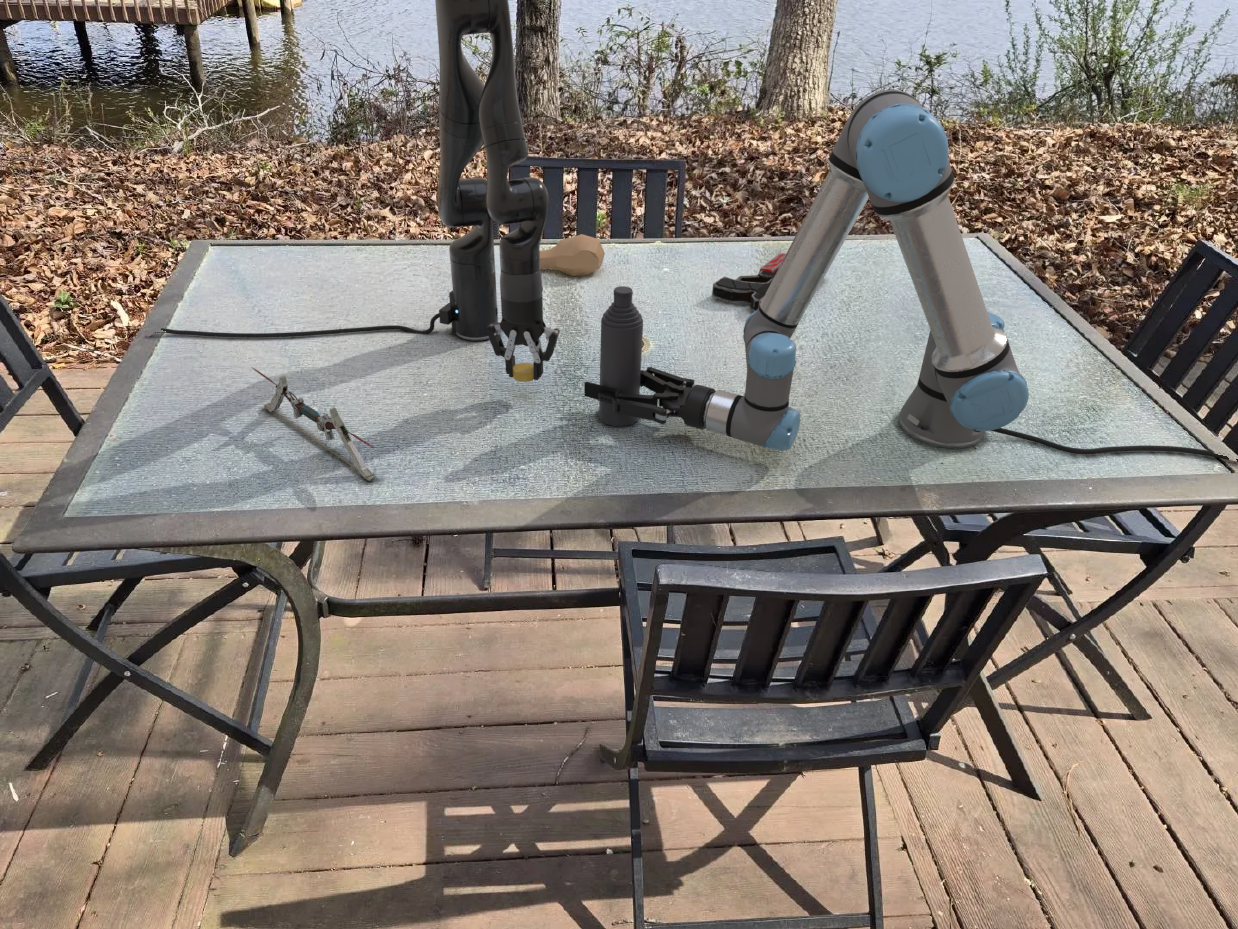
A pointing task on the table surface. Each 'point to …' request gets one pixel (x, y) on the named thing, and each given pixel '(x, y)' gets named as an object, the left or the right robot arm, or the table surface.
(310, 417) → the bow
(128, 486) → the table surface
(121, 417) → the table surface
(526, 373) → the cap
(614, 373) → the bottle
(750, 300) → the gun
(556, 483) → the table surface
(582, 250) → the squash
